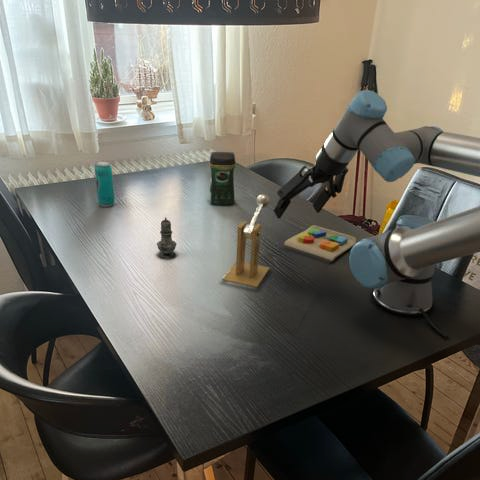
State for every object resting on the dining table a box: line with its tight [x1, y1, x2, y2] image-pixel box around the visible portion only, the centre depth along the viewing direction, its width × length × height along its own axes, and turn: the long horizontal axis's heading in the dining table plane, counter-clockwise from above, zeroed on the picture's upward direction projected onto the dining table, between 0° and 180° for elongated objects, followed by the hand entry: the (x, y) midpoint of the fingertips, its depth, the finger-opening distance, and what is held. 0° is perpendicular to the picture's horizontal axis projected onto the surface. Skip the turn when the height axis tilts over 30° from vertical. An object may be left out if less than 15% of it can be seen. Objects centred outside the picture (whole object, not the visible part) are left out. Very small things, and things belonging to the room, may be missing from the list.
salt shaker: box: [156, 216, 177, 260], centre depth 147 cm, size 6×6×12 cm
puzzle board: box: [283, 225, 357, 263], centre depth 160 cm, size 18×19×4 cm
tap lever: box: [243, 193, 270, 240], centre depth 136 cm, size 15×4×4 cm, turn 158°
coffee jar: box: [208, 151, 237, 206], centre depth 184 cm, size 10×8×19 cm
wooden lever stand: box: [221, 220, 271, 289], centre depth 136 cm, size 12×10×16 cm
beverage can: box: [94, 160, 115, 208], centre depth 177 cm, size 6×6×15 cm
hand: (296, 211), depth 135 cm, fingers open, 13 cm apart
